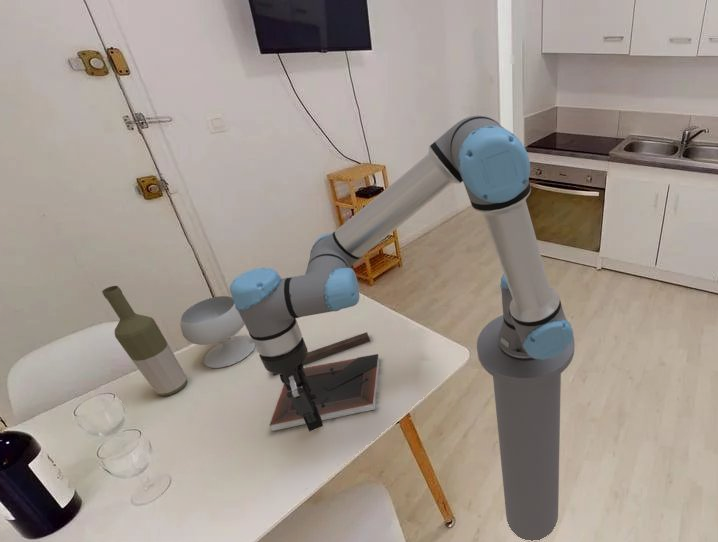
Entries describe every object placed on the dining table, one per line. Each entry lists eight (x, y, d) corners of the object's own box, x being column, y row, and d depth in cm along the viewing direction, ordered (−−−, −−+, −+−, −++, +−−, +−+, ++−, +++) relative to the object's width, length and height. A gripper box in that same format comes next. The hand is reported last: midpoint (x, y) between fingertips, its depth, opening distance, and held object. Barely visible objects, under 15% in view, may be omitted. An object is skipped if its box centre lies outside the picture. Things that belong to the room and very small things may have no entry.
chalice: (201, 348, 114) (177, 305, 107) (258, 329, 121) (239, 287, 113) (199, 379, 104) (172, 334, 96) (261, 357, 110) (241, 313, 103)
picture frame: (379, 360, 108) (291, 377, 104) (378, 353, 107) (288, 369, 103) (375, 410, 94) (272, 432, 90) (372, 403, 93) (269, 424, 89)
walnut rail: (368, 337, 116) (367, 331, 115) (370, 341, 115) (368, 335, 114) (273, 370, 106) (271, 365, 105) (273, 375, 104) (271, 369, 103)
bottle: (195, 384, 103) (136, 285, 88) (162, 403, 98) (93, 302, 83) (183, 372, 106) (125, 276, 91) (151, 391, 101) (83, 292, 86)
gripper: (257, 332, 80) (294, 412, 92) (258, 374, 71) (299, 458, 82) (299, 319, 84) (330, 398, 95) (305, 358, 74) (338, 441, 85)
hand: (315, 426), depth 89 cm, fingers closed
